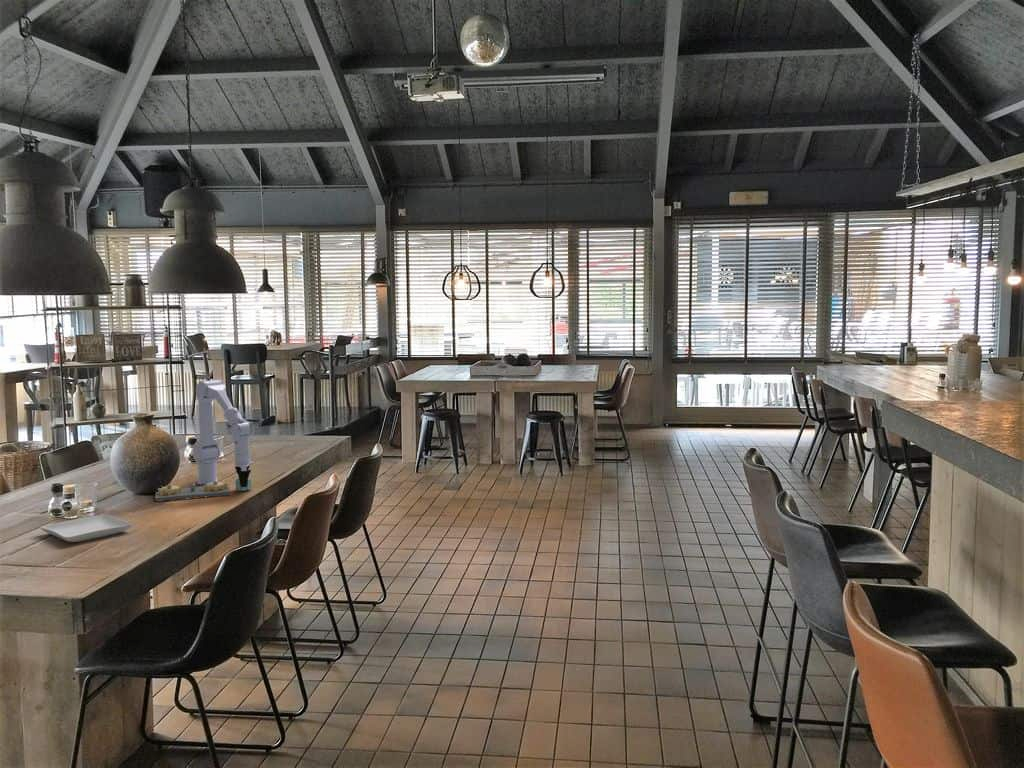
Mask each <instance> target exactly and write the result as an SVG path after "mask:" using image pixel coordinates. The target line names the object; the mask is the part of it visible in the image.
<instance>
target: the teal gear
mask: <svg viewBox="0 0 1024 768" xmlns="http://www.w3.org/2000/svg"><path fill="white" fill-rule="evenodd" d="M251 489H252V479H251V478H249V477H248V483H247V487H241V485H240V480H239V478H236V479H235V490H236V491H238V492H240V491H241V492H244V491H249V490H250V491H251Z"/></svg>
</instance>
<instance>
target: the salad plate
mask: <svg viewBox="0 0 1024 768" xmlns="http://www.w3.org/2000/svg"><path fill="white" fill-rule="evenodd" d="M132 526H133V523H131V522H130V521H126V520H123V519H121V518H119V517H115V516H112V515H109V514H106V513H105V514H104V513H103V514H98V515H93V516H88V517H80V518H75V519H69V520H66V521H60V522H56V523H52V524H51V523H50V524H46V525H41V526H40V529H41V530H42V532H45V533H46V534H49V535H52V536H54V537H57V538H59V539H61V540H63V541H66V542H68V543H80V542H85V541H90V540H95V539H98V538H99V539H100V538H104V537H107V536H108V537H109V536H113V535H117V534H119V533H123V532H125V531H127V530H129V529H130V528H131V527H132Z"/></svg>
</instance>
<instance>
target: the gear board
mask: <svg viewBox="0 0 1024 768" xmlns="http://www.w3.org/2000/svg"><path fill="white" fill-rule="evenodd" d="M203 485H204V486H201V485H200V486H196V483H194V482H191V483H190V487H182V486H179V485H172V484H167V485H166V486H161V487H162V488H160V487H159V488H157V490H158V492H156V491H155V497H154V499H155V500H154V501H156V500H158V501H159V500H172V501H177V500H176V499H183V500H187V499H186V498H195V497H205V496H218V497H222V496H221V495H229V496H231V490H230V487H229V484H227V482H224V481H219V480H218V481H214V482H213V483H207V484H203ZM195 499H196V498H195Z"/></svg>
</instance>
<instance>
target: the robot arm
mask: <svg viewBox="0 0 1024 768" xmlns="http://www.w3.org/2000/svg"><path fill="white" fill-rule="evenodd" d="M226 387H227V386H226V385H225V382H224V380H222V379H213V380H199V381H198V382H197V384H196V386H195V391H196V392H195V394H196V395H195V397H196V400H197V404H198V405H197V407H198V409H197V410H198V425H199V427H198V428H199V439H198V440H196V442H195V443H194V444H193V450H192V457H193V459H194V461H195V462H196V463H197V470H198V471H197V472H198V473H197V475H198V476H197V477H198V479H197V481H196V482H197V485H198V484H200V485H207V483H213V482H214V481H218V482H219V479H218V476H217V474H218V473H217V462H218V459H219V458H220V456H221V448H220V446H219V445H220V444H219V442H218V440H216V439H215V438H214V428H213V427H214V426H213V425H214V424H213V405H212V402H213V401H214V400H216V402H217V403H218V404H219V406H220V408H222V410H223V411H224V412H223V413H224V414H223V416H224V418H225V421H227V423H228V424H229V427H230V434H231V436H232V441H233V443H234V469H235V472H236V474H237V477H238V479H239V480H240V485H241V487H247V483H248V478H249V477H250V474H251V472H252V470H251V469H249V468H250V466H251V465H254V461H251V453H250V452H251V451H250V449H251V448H250V436H251V435H252V434H253V433H252V432H253V426H252V424H251V422H250V421H248V420H246V419H244V417H243V416H242V415H241V413H240V411H239V409H238V408H237V407H233V405H232V403H231V400H230V399H229V397H228V395H227V393H226V389H227V388H226Z"/></svg>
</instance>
